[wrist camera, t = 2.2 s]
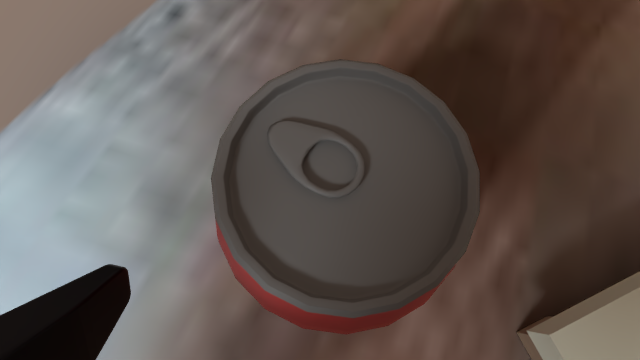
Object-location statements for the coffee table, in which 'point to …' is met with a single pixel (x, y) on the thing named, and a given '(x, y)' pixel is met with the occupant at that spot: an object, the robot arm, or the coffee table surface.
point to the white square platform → (591, 327)
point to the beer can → (344, 195)
